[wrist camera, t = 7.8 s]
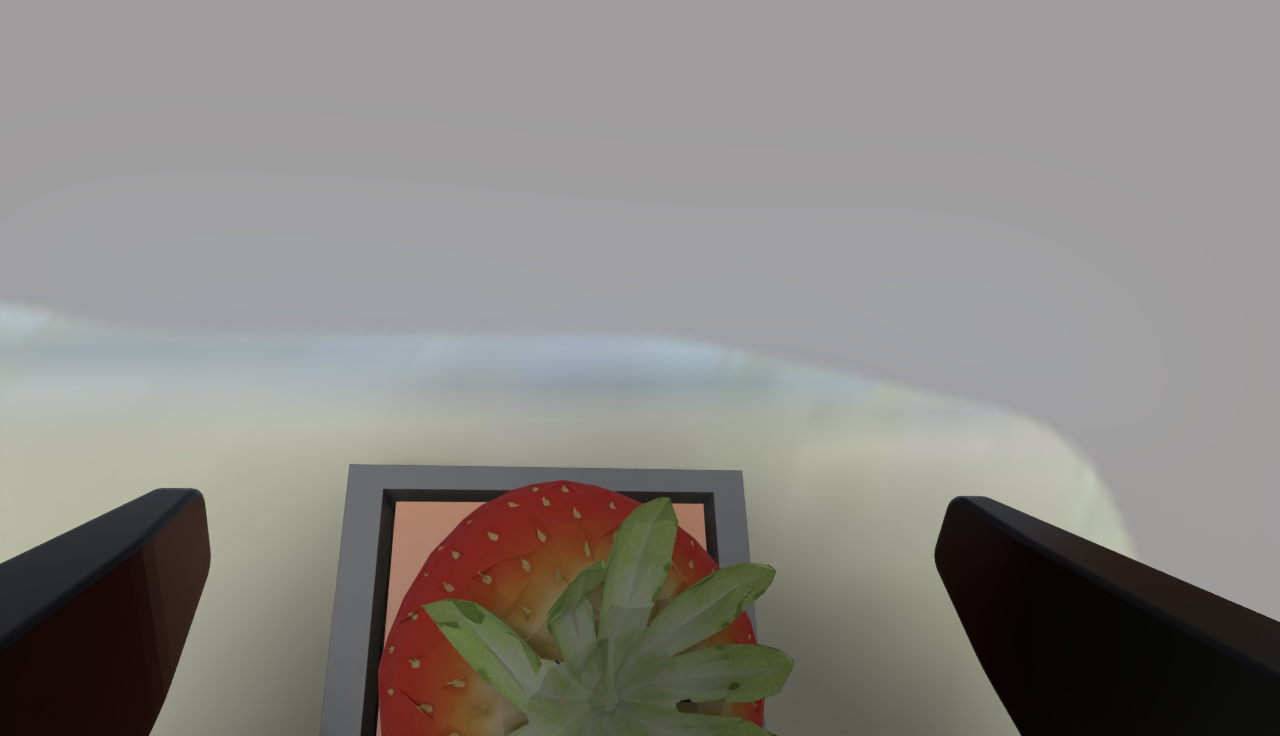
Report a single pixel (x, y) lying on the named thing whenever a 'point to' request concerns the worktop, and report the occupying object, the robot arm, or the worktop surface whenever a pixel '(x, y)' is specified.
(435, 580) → the fruit
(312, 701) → the worktop surface
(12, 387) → the worktop surface
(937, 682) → the worktop surface
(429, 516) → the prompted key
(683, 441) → the worktop surface
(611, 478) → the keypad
